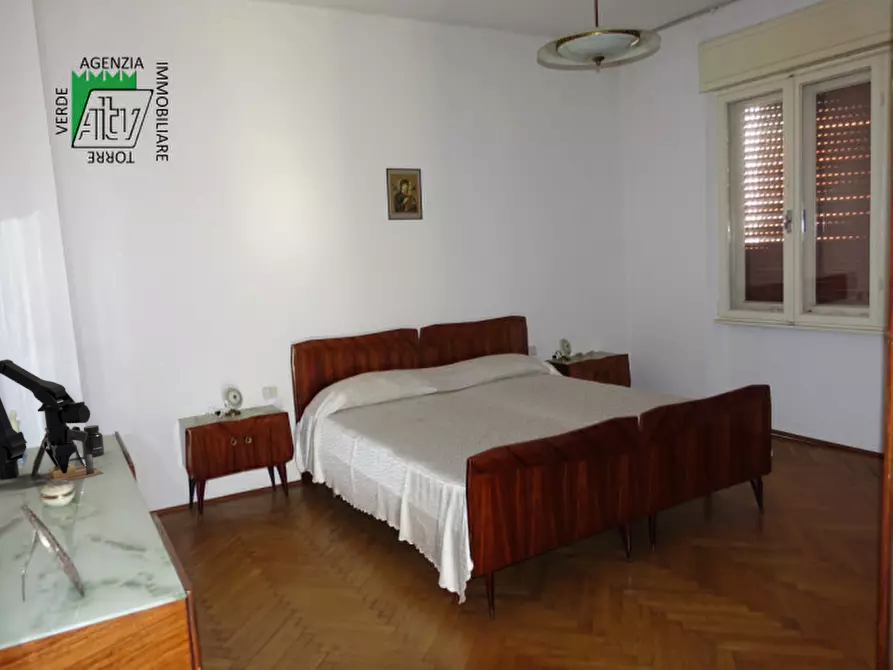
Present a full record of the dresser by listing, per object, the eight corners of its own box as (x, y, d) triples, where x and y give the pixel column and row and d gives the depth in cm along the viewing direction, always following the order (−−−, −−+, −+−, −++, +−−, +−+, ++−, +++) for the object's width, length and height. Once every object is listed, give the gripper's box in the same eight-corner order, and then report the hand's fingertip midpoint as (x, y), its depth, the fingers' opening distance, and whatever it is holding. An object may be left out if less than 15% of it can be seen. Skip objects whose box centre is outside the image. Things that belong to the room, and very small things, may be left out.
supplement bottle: (99, 461, 246) (95, 428, 245) (80, 462, 246) (75, 429, 245) (108, 456, 253) (105, 423, 252) (90, 457, 253) (86, 424, 252)
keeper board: (42, 478, 229) (39, 456, 228) (88, 468, 238) (85, 446, 238) (56, 489, 216) (53, 465, 215) (104, 477, 225) (102, 455, 224)
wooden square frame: (49, 475, 227) (48, 467, 227) (70, 470, 231) (69, 463, 231) (54, 478, 222) (53, 471, 222) (76, 473, 226) (75, 466, 226)
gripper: (91, 422, 223) (97, 470, 225) (75, 415, 237) (81, 460, 239) (52, 429, 216) (58, 478, 218) (38, 422, 230) (44, 468, 231)
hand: (62, 471), depth 227 cm, fingers open, 7 cm apart
